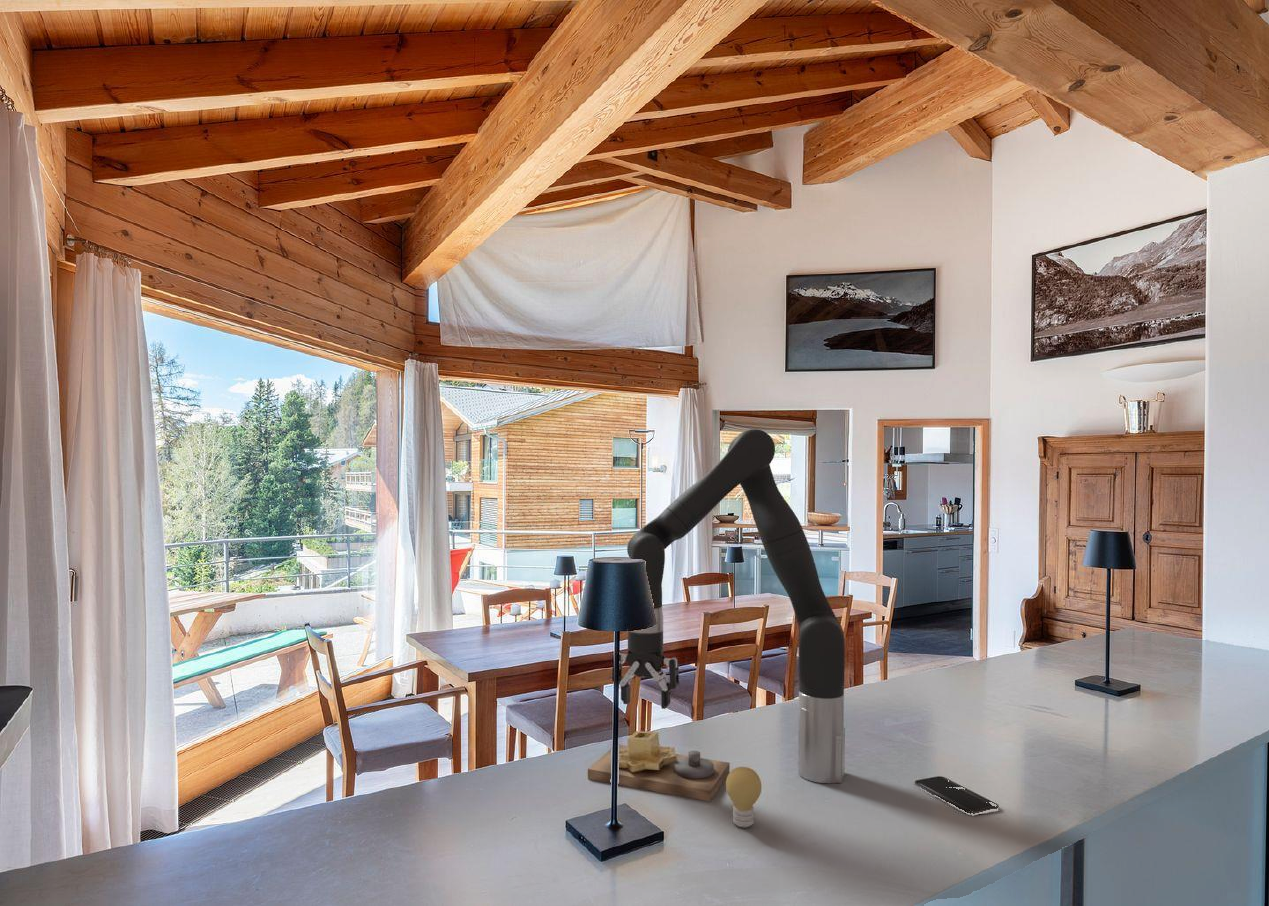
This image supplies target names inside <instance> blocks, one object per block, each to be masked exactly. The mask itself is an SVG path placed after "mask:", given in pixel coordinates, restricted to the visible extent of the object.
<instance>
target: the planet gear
mask: <svg viewBox="0 0 1269 906" xmlns="http://www.w3.org/2000/svg"><path fill="white" fill-rule="evenodd" d="M642 737H646V738H642ZM627 746H628V748H627V749H625V750H621V751H619V760H618V761H619V767H621V768H628V769H629V770H630V771H631V772H636V771H640V770H644V769H651V770H660V768H661V767H662V766H663V765H665V764H669V763H673V762H677V759H676V755H674V754H676V751H675V750H676V749H675V746H666V745H665V746H664V745H663V746H662V745H660V737H659V731H641V730H640V731H638V730H636V731H635V732H634V733H633V734H631V735H630V736H629V737H628V738H627Z"/></svg>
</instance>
